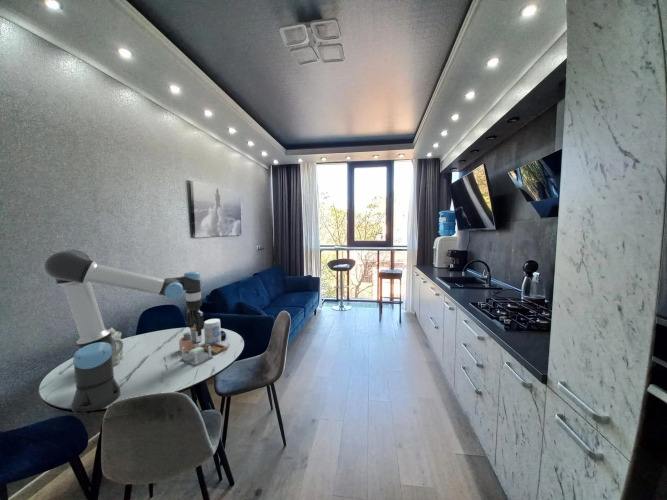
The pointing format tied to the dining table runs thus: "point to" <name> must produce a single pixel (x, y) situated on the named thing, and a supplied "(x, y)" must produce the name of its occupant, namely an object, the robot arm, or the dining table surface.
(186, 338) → the orange canister
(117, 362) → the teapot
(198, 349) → the checker pad
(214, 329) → the supplement tub
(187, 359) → the checker cradle
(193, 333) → the cell
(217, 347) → the brown wooden tray
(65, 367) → the dining table surface
